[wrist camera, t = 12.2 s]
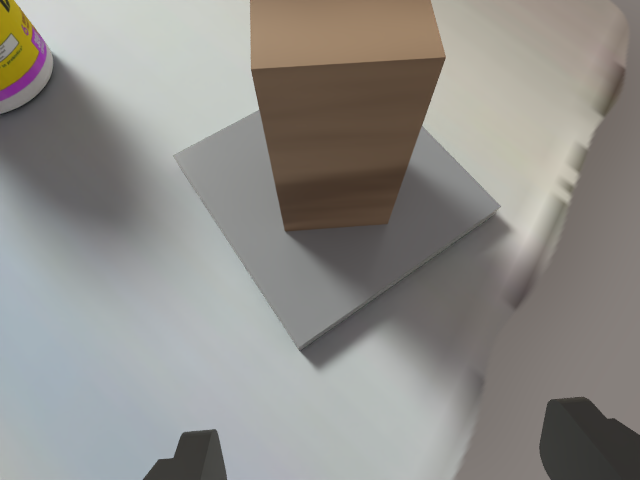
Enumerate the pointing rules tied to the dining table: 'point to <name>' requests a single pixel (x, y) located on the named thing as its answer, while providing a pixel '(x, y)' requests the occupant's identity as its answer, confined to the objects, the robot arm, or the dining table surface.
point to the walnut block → (342, 102)
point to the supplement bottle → (21, 58)
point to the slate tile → (331, 243)
